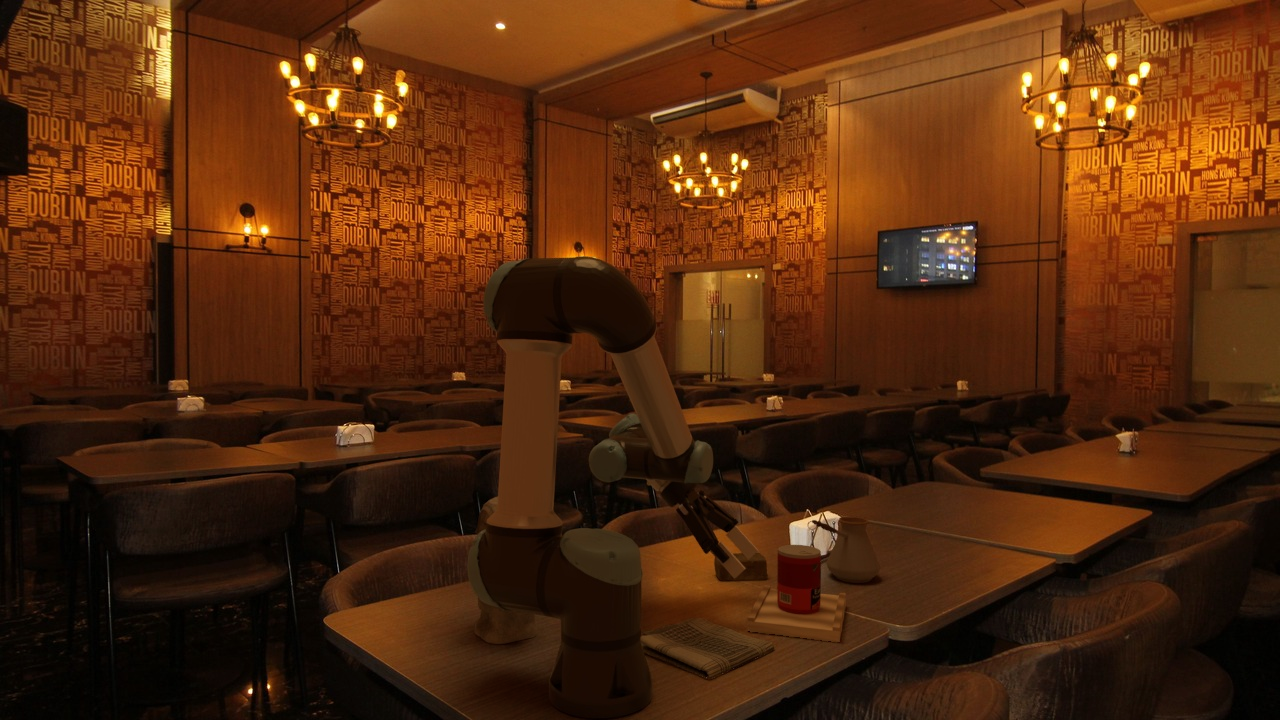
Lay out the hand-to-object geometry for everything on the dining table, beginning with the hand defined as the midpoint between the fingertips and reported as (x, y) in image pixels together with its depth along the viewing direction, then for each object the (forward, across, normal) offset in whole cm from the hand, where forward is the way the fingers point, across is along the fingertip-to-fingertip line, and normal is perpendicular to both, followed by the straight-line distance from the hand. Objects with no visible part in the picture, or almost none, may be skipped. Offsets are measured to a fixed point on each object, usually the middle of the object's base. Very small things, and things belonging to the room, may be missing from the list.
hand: (747, 564), depth 150 cm
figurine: (-20, +24, -34) cm, 47 cm away
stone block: (+3, -23, -11) cm, 25 cm away
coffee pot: (+18, -26, +4) cm, 32 cm away
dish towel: (+4, +20, -10) cm, 23 cm away
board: (+14, 0, 0) cm, 14 cm away
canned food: (+12, 0, +2) cm, 12 cm away
